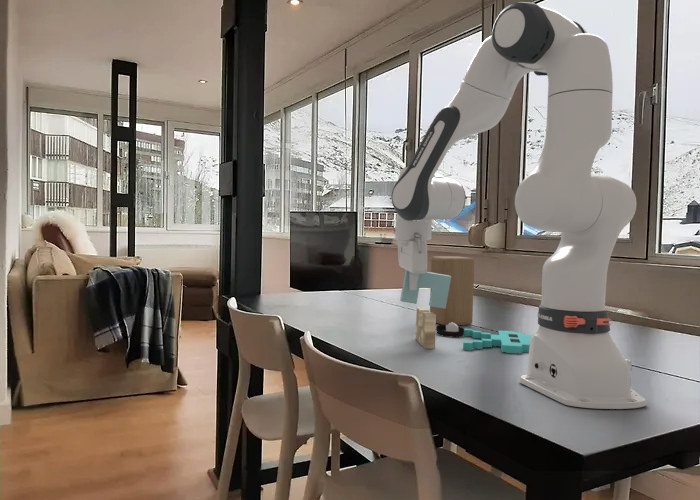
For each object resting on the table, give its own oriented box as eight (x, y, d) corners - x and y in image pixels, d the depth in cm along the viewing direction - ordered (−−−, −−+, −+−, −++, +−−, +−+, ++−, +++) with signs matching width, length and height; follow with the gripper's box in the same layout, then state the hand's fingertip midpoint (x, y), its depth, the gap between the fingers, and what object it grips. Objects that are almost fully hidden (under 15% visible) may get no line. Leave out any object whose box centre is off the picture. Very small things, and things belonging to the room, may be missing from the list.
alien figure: (462, 352, 135) (552, 358, 131) (463, 342, 135) (552, 348, 131) (464, 336, 154) (541, 341, 150) (464, 328, 154) (542, 333, 150)
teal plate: (445, 308, 140) (451, 276, 140) (401, 301, 139) (407, 269, 139) (443, 307, 143) (448, 275, 142) (400, 300, 142) (405, 268, 142)
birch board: (435, 348, 135) (436, 314, 135) (425, 348, 135) (425, 314, 135) (424, 338, 147) (425, 307, 147) (415, 338, 147) (416, 307, 147)
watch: (466, 336, 153) (467, 323, 153) (460, 339, 149) (460, 325, 149) (440, 333, 157) (440, 319, 157) (432, 335, 153) (433, 322, 153)
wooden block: (428, 320, 176) (430, 256, 176) (457, 320, 179) (459, 256, 179) (443, 326, 167) (445, 257, 166) (473, 325, 170) (475, 258, 169)
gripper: (435, 233, 130) (432, 294, 131) (418, 232, 150) (416, 284, 151) (407, 233, 129) (405, 294, 130) (394, 231, 150) (392, 284, 150)
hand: (411, 288), depth 141 cm, fingers closed on teal plate, 2 cm apart
